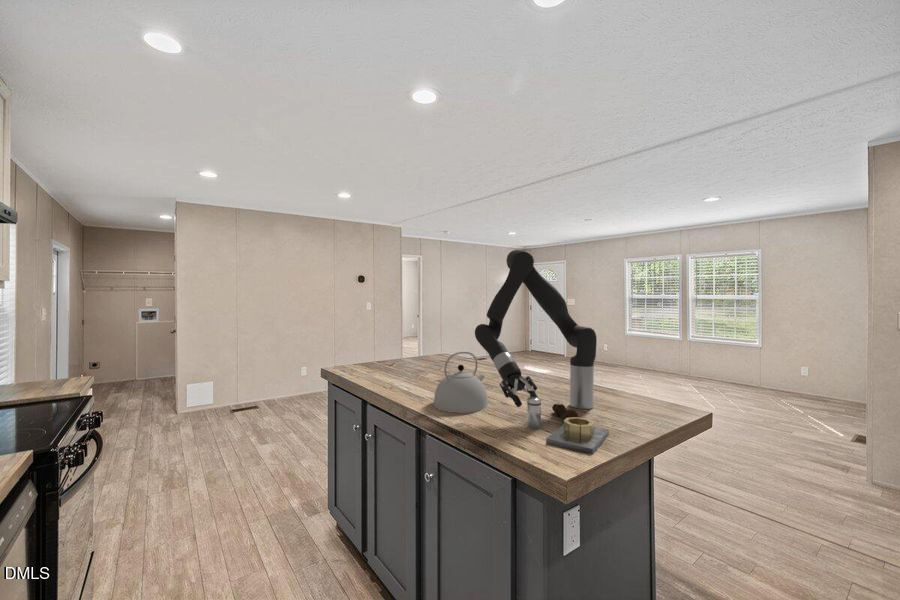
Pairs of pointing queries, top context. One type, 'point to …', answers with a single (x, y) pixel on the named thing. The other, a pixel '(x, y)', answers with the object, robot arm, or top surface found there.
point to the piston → (533, 413)
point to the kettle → (461, 391)
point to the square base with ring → (578, 435)
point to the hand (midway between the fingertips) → (528, 404)
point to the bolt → (563, 411)
